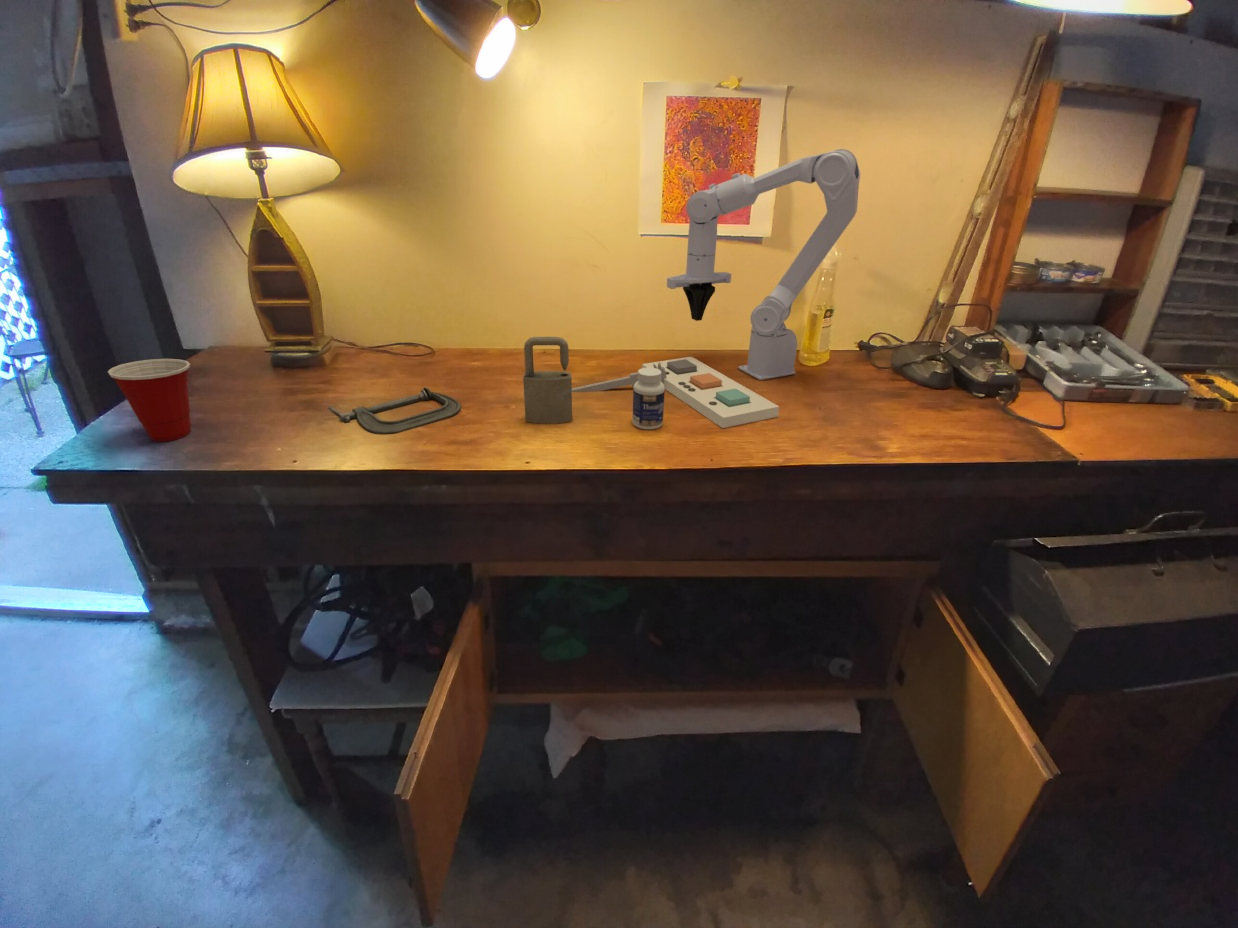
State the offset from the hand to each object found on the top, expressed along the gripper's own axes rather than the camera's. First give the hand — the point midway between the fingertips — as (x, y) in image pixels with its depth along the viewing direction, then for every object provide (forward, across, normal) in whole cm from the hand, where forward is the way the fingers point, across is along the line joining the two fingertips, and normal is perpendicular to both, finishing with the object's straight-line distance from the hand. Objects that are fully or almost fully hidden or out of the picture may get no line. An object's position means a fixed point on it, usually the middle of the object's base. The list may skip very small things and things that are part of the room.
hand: (696, 319), depth 141 cm
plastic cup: (+10, +99, -4) cm, 100 cm away
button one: (+9, +8, +26) cm, 29 cm away
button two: (+9, +8, +8) cm, 15 cm away
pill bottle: (+10, +25, +25) cm, 37 cm away
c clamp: (+10, +63, +2) cm, 64 cm away
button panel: (+9, +8, +17) cm, 21 cm away
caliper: (+11, +23, +8) cm, 27 cm away
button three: (+9, +8, +17) cm, 21 cm away
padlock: (+10, +40, +16) cm, 44 cm away
